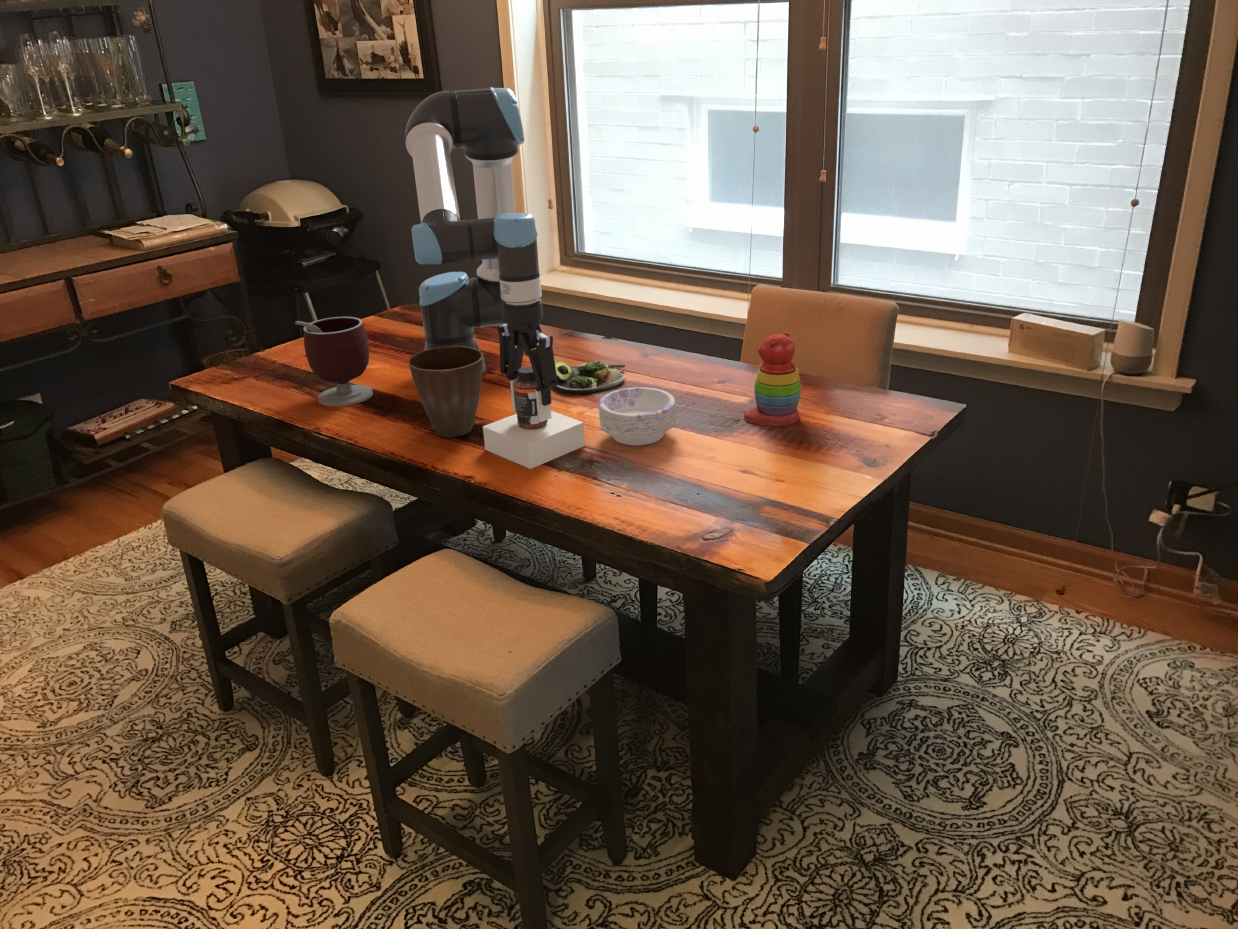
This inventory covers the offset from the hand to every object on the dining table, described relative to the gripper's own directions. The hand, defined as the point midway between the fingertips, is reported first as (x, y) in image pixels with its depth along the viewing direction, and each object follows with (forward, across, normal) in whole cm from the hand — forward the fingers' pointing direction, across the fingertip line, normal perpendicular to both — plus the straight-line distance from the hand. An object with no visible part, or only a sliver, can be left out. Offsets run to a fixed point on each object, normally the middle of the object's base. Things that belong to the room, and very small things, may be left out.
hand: (532, 414), depth 192 cm
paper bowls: (+7, +12, +17) cm, 22 cm away
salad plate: (+8, -21, +32) cm, 39 cm away
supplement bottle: (+2, 0, 0) cm, 2 cm away
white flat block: (+7, 0, 0) cm, 7 cm away
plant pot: (+7, -20, -5) cm, 22 cm away
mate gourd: (+7, -57, -10) cm, 58 cm away
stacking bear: (+7, +27, +42) cm, 50 cm away
